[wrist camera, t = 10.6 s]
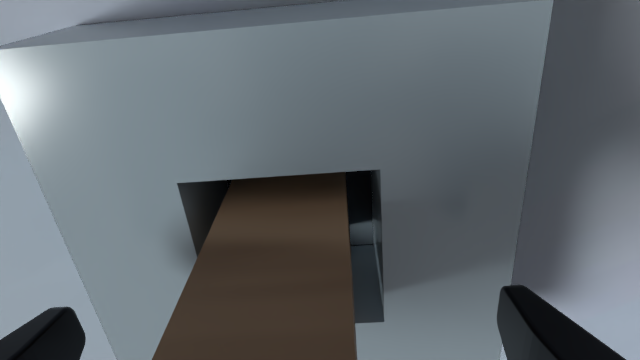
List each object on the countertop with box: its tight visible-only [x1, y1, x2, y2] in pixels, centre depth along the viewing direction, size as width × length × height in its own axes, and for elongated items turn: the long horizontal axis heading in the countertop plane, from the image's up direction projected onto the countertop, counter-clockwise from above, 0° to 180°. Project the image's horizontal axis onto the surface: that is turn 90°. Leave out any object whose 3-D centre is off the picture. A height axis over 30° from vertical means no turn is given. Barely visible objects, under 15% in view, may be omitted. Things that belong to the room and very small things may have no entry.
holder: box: [0, 0, 553, 360], centre depth 12 cm, size 11×11×4 cm
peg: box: [152, 172, 357, 360], centre depth 9 cm, size 3×3×10 cm
